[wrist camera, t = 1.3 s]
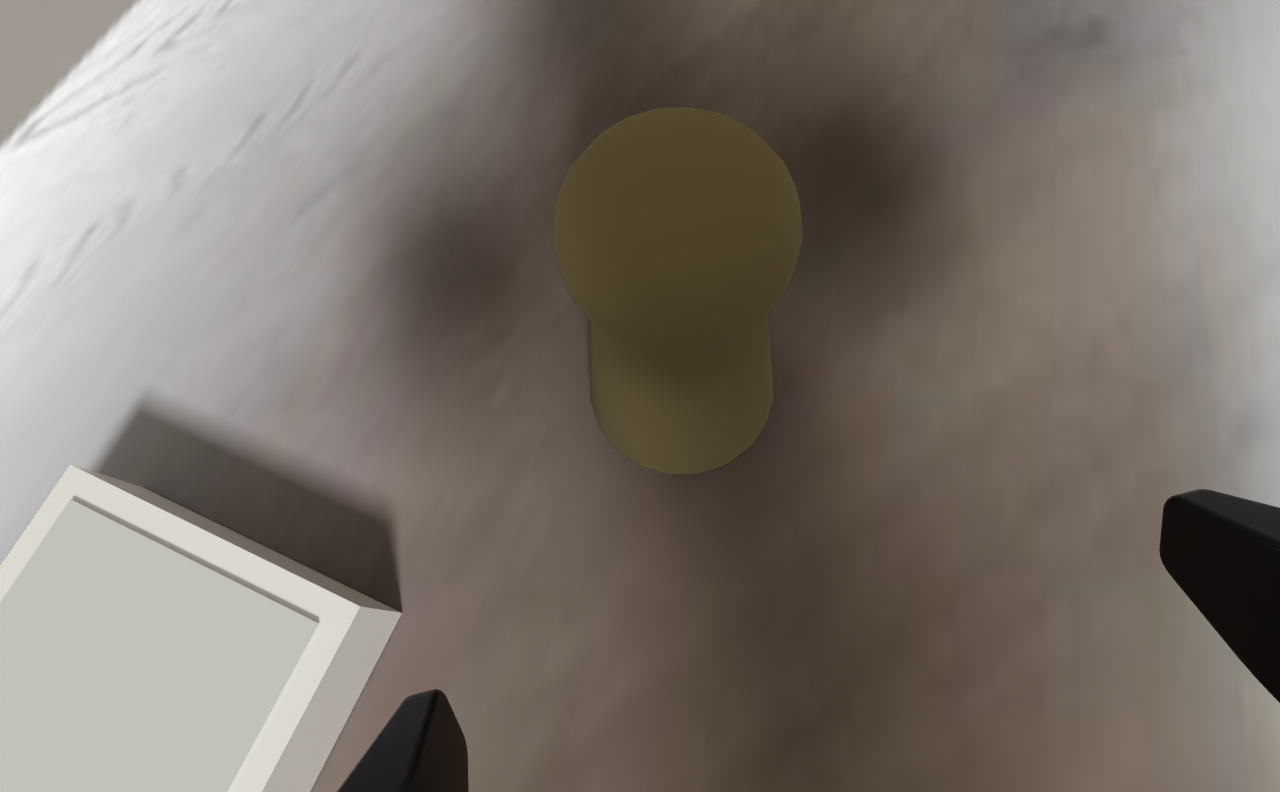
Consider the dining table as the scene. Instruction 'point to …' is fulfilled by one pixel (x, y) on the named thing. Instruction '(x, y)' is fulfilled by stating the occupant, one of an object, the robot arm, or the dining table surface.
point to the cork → (679, 281)
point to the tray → (170, 651)
